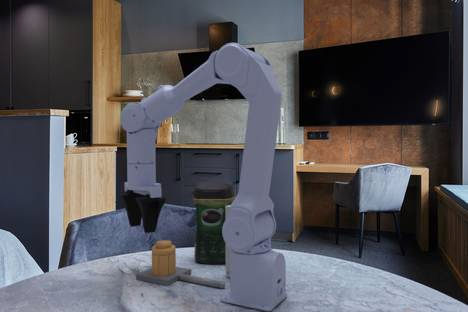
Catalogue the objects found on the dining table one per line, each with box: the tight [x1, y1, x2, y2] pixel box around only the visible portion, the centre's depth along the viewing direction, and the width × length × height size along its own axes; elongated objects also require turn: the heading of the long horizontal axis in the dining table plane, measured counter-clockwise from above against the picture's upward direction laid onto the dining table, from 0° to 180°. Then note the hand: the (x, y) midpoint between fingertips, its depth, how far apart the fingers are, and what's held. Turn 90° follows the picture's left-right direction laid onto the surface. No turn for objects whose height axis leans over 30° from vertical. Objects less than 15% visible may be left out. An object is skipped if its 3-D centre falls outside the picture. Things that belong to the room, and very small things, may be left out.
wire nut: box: [151, 239, 177, 276], centre depth 82 cm, size 5×5×6 cm
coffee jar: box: [192, 181, 235, 265], centre depth 93 cm, size 10×8×19 cm
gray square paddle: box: [135, 266, 226, 289], centre depth 79 cm, size 19×8×4 cm, turn 61°
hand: (142, 229), depth 82 cm, fingers open, 7 cm apart
